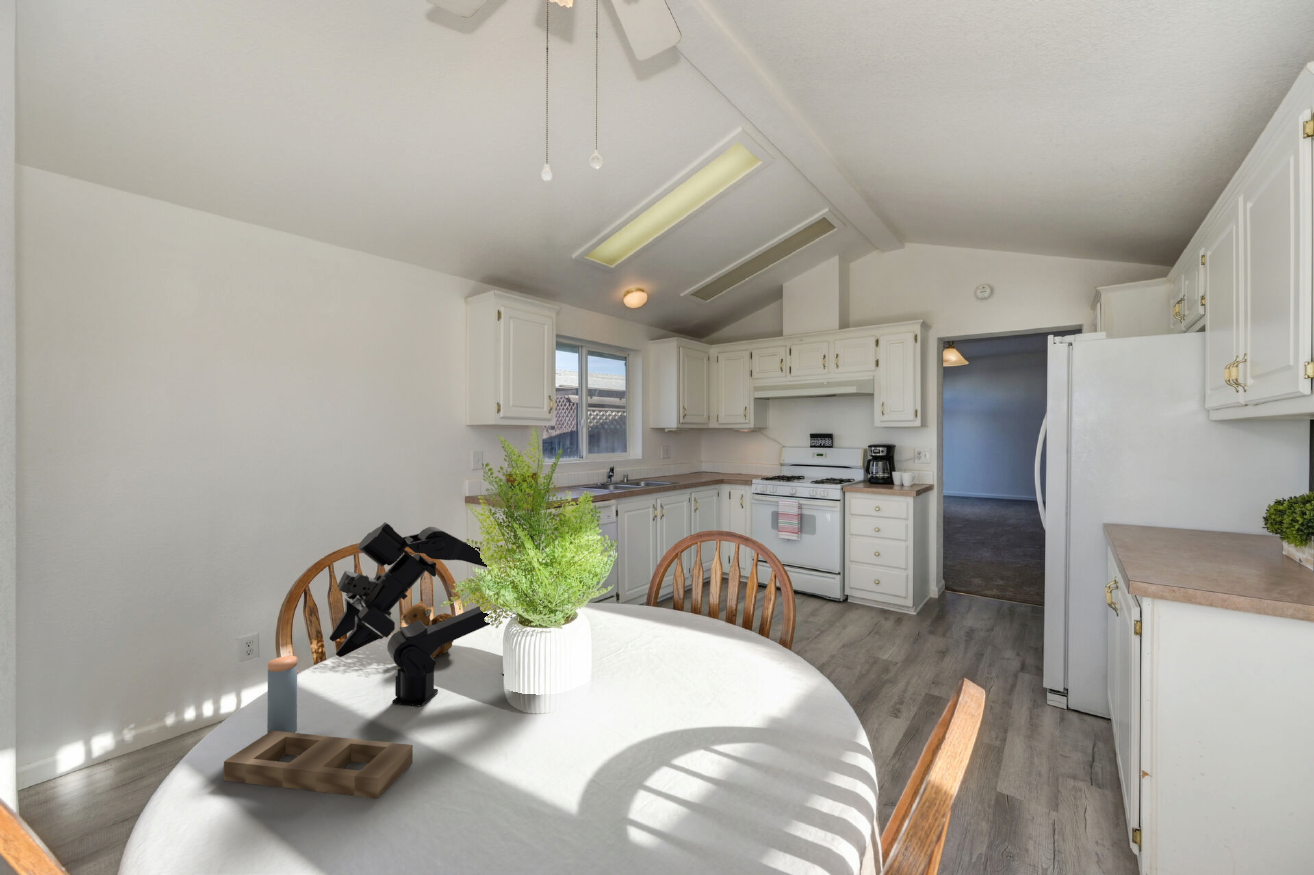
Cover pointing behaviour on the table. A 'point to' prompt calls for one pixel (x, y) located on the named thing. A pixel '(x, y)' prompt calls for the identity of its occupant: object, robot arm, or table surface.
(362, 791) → the wooden peg holder
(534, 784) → the table surface
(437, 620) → the stuffed squirrel
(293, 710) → the peg
